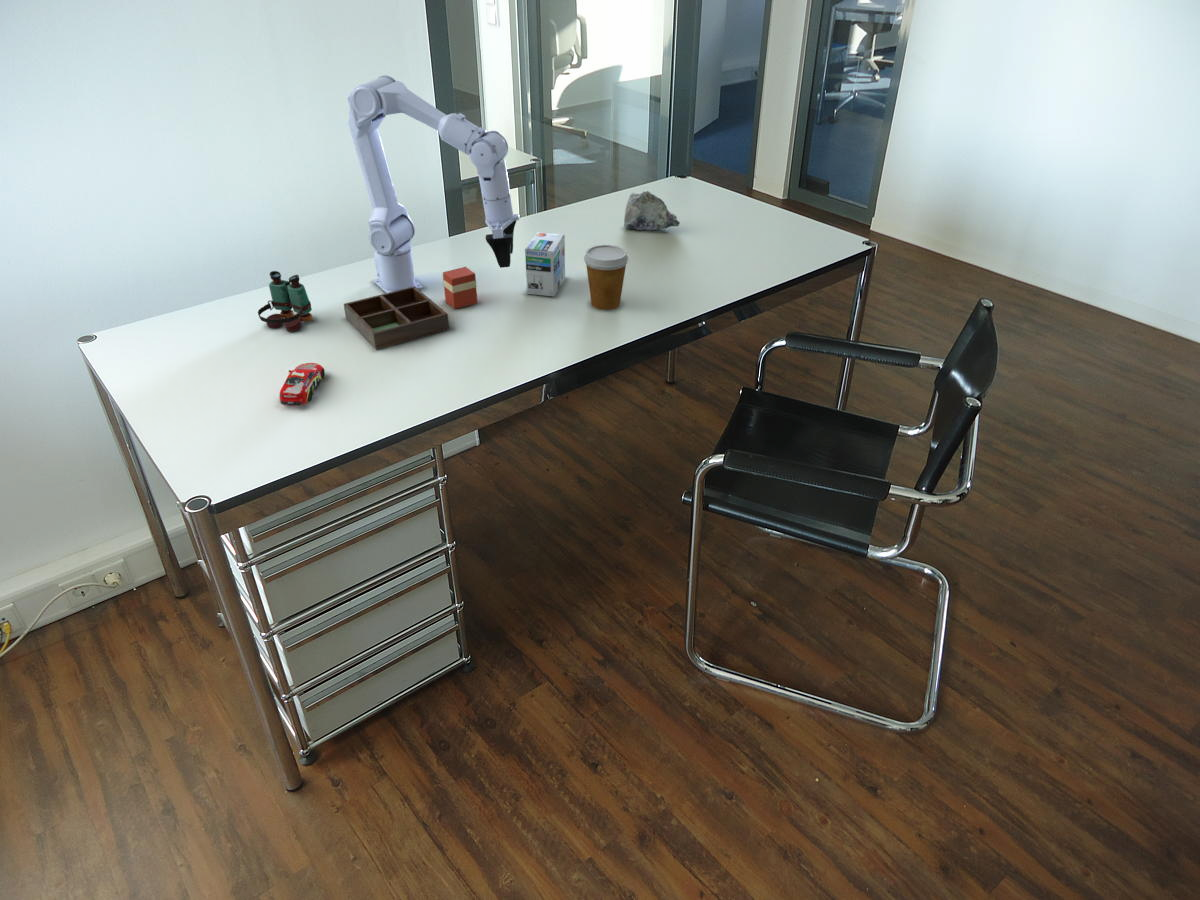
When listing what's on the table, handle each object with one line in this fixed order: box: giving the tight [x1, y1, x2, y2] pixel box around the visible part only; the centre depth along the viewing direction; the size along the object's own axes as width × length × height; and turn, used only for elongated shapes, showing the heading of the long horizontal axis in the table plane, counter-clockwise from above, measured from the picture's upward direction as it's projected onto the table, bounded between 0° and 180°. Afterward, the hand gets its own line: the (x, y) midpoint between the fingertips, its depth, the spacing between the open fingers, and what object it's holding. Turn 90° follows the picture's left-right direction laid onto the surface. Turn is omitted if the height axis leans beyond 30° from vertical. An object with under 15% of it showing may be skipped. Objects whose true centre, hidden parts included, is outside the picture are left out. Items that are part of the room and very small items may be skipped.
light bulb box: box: [524, 231, 566, 298], centre depth 192 cm, size 11×7×11 cm, turn 168°
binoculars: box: [257, 270, 314, 333], centre depth 175 cm, size 9×11×10 cm
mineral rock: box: [623, 190, 681, 231], centre depth 222 cm, size 13×11×10 cm
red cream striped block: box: [442, 266, 478, 310], centre depth 186 cm, size 4×6×7 cm
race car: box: [279, 362, 325, 406], centre depth 156 cm, size 13×5×4 cm, turn 177°
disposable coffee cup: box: [583, 244, 630, 311], centre depth 185 cm, size 10×10×12 cm
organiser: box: [343, 286, 450, 351], centre depth 178 cm, size 16×16×4 cm
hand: (506, 260), depth 181 cm, fingers open, 7 cm apart
